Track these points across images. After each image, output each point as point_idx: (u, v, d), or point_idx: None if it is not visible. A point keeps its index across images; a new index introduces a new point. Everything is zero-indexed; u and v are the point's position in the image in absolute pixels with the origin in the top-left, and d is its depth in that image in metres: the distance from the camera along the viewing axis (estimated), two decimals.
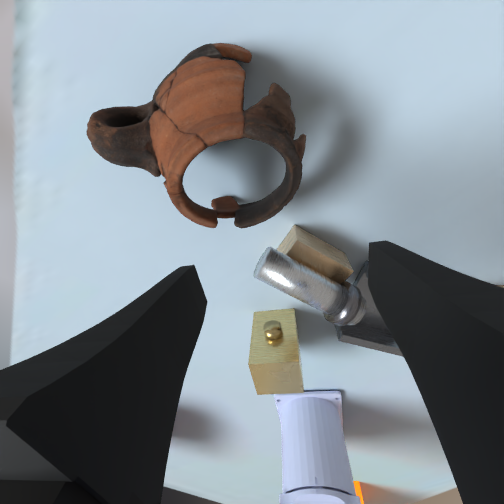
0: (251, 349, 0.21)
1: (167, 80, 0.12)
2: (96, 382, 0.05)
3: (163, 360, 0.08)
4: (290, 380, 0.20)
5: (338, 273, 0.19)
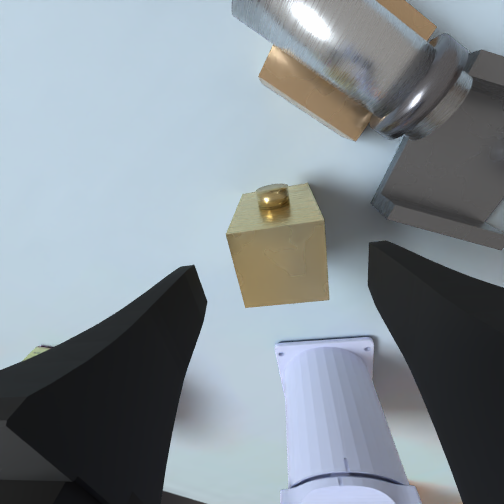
0: (233, 221, 0.12)
1: None
2: (96, 382, 0.05)
3: (163, 360, 0.08)
4: (305, 271, 0.11)
5: None
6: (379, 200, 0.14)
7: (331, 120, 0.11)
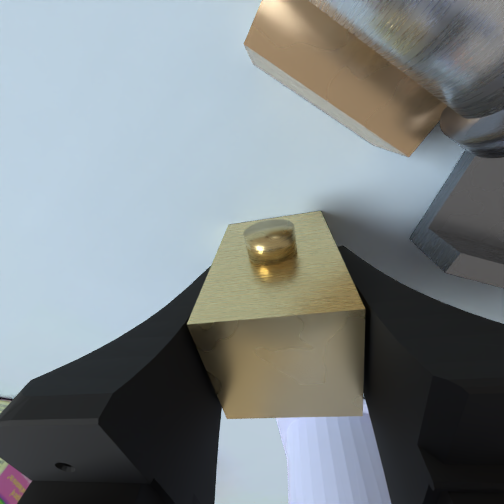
0: (206, 287, 0.07)
1: None
2: (163, 379, 0.05)
3: None
4: (325, 378, 0.06)
5: None
6: (426, 237, 0.10)
7: (369, 122, 0.06)
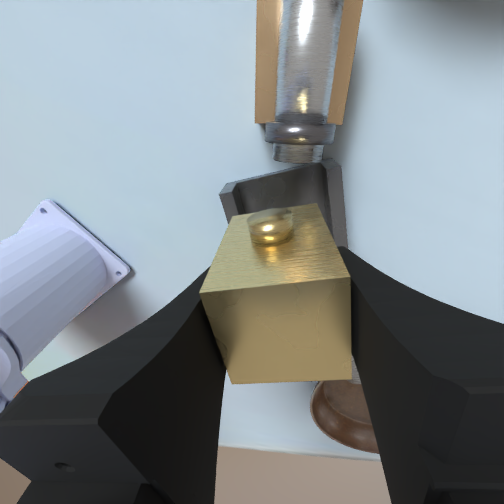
0: (214, 265, 0.08)
1: None
2: (162, 379, 0.05)
3: (209, 357, 0.08)
4: (318, 343, 0.07)
5: (330, 105, 0.12)
6: (231, 185, 0.16)
7: (258, 89, 0.12)
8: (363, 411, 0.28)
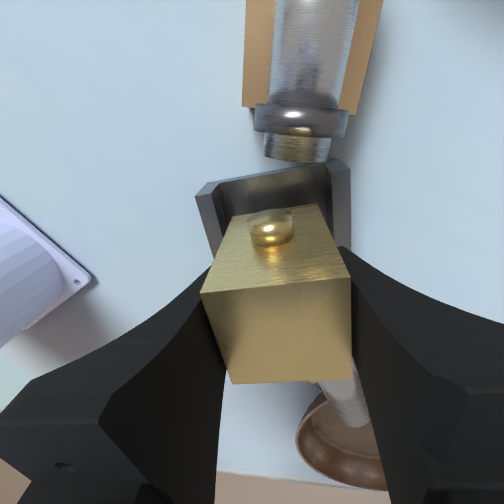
0: (215, 265, 0.08)
1: None
2: (163, 379, 0.05)
3: (209, 357, 0.08)
4: (318, 343, 0.07)
5: (341, 88, 0.09)
6: (212, 185, 0.13)
7: (247, 60, 0.09)
8: (354, 442, 0.26)
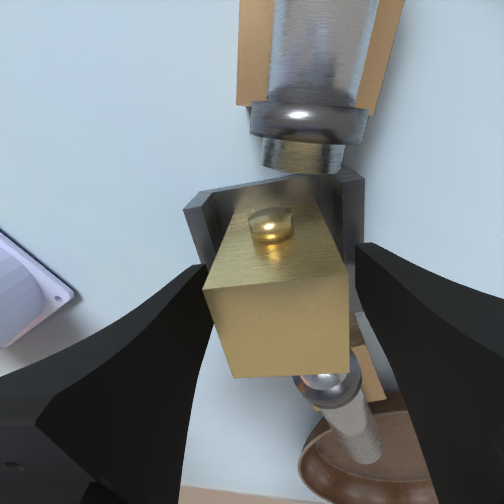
0: (216, 263, 0.08)
1: None
2: (117, 381, 0.05)
3: (178, 359, 0.08)
4: (317, 338, 0.08)
5: None
6: (204, 195, 0.12)
7: (242, 48, 0.07)
8: (359, 464, 0.24)
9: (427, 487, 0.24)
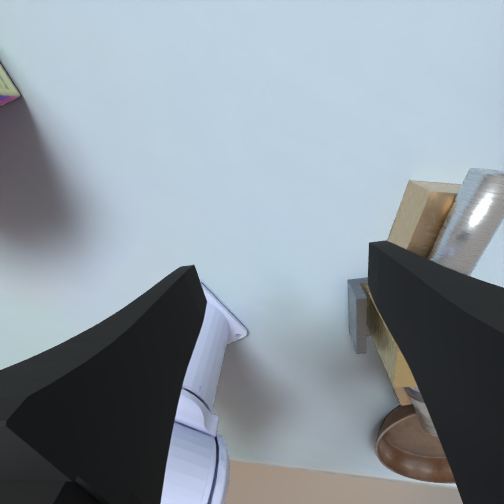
0: (390, 333, 0.18)
1: None
2: (96, 382, 0.05)
3: (163, 360, 0.08)
4: None
5: None
6: (356, 285, 0.21)
7: (411, 243, 0.17)
8: (413, 445, 0.33)
9: None
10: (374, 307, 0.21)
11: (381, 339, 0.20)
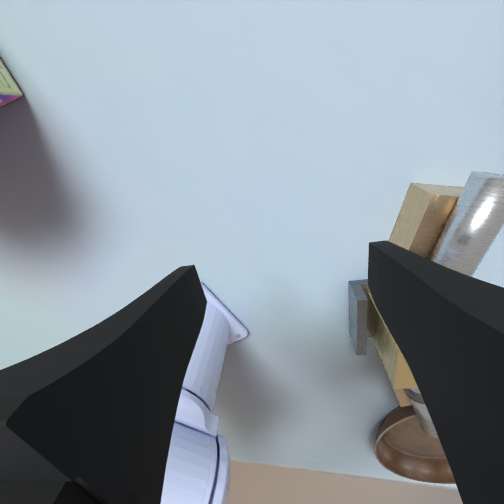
0: (391, 335, 0.18)
1: None
2: (96, 382, 0.05)
3: (163, 360, 0.08)
4: None
5: None
6: (357, 286, 0.21)
7: (412, 245, 0.17)
8: (412, 445, 0.34)
9: None
10: (375, 309, 0.21)
11: (381, 341, 0.20)
